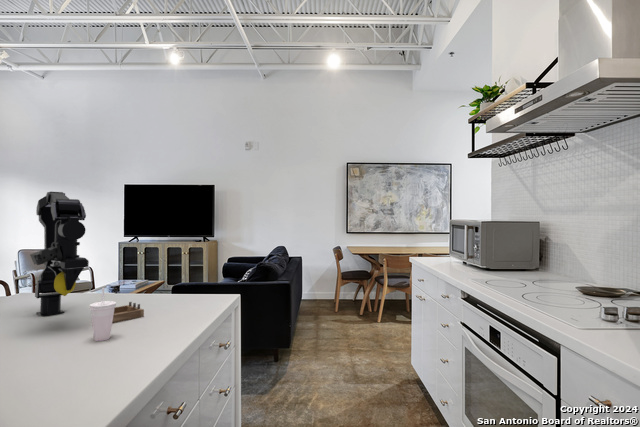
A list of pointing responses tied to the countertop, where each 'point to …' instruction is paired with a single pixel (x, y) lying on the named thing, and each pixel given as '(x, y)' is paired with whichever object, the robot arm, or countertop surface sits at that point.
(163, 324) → the countertop surface
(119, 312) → the tray
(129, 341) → the countertop surface
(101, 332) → the smoothie
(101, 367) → the countertop surface
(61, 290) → the lemon
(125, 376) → the countertop surface
